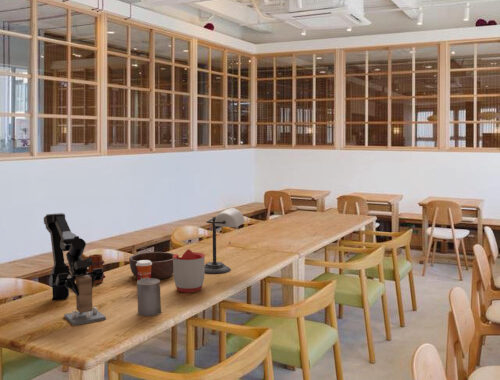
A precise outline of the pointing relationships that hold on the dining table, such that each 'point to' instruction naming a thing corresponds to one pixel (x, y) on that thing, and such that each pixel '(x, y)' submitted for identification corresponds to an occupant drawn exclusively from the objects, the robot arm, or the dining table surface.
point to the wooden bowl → (154, 264)
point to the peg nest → (84, 317)
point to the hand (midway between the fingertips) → (85, 294)
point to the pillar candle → (148, 297)
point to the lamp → (223, 219)
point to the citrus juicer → (189, 271)
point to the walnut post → (84, 293)
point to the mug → (95, 264)
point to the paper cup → (144, 269)
